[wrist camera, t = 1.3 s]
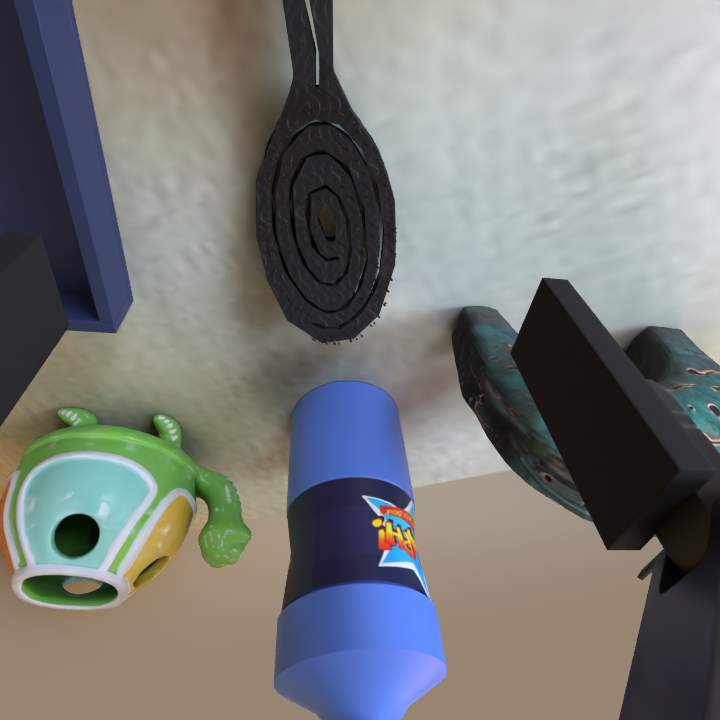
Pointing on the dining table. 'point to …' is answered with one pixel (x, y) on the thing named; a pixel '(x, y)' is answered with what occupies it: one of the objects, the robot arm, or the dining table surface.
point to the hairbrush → (323, 196)
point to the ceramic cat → (522, 419)
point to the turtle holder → (109, 511)
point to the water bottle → (353, 564)
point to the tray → (58, 162)
